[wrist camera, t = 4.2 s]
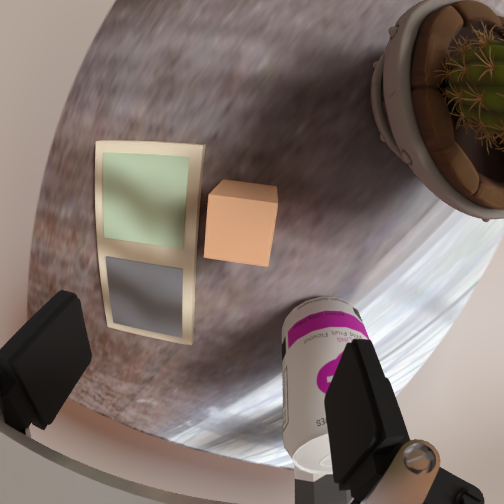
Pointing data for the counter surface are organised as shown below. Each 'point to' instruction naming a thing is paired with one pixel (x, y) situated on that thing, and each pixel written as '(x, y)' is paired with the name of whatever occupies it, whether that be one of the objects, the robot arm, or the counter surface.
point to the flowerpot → (446, 101)
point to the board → (148, 235)
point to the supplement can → (313, 375)
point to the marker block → (241, 222)
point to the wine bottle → (318, 489)
